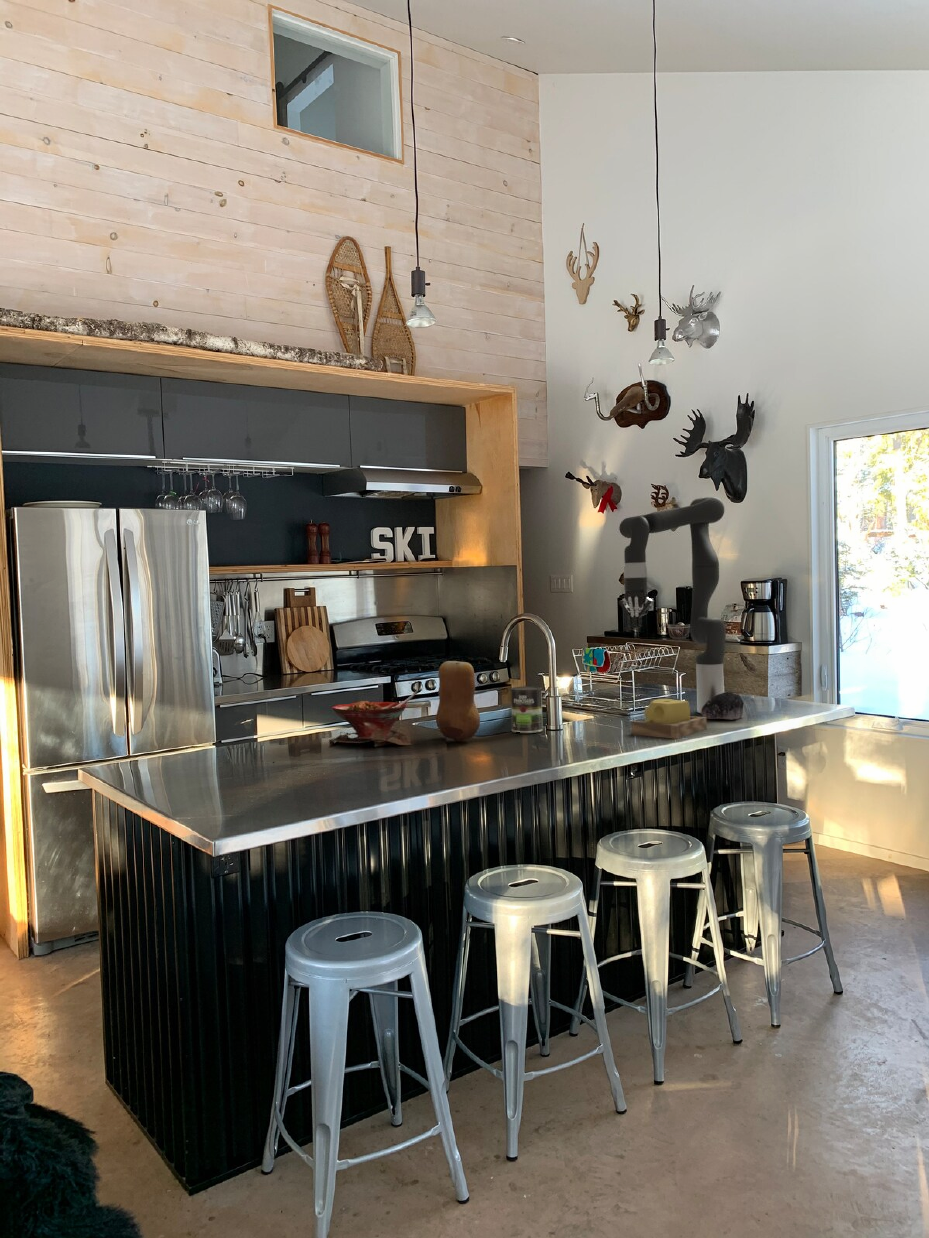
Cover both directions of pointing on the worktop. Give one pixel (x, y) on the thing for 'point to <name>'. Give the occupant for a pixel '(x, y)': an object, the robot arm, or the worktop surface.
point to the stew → (372, 722)
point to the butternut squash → (457, 701)
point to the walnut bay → (669, 728)
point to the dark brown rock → (723, 706)
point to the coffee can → (526, 709)
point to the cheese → (667, 711)
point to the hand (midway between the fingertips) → (636, 628)
